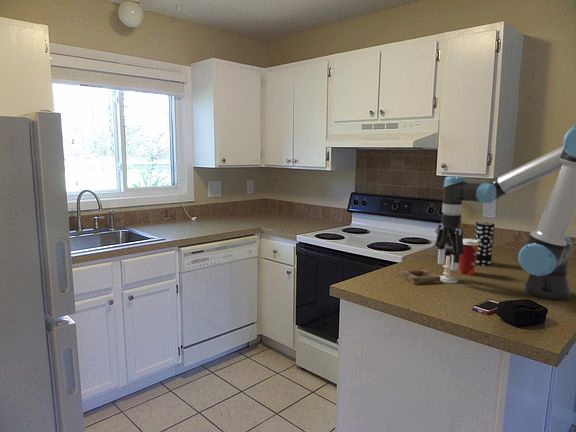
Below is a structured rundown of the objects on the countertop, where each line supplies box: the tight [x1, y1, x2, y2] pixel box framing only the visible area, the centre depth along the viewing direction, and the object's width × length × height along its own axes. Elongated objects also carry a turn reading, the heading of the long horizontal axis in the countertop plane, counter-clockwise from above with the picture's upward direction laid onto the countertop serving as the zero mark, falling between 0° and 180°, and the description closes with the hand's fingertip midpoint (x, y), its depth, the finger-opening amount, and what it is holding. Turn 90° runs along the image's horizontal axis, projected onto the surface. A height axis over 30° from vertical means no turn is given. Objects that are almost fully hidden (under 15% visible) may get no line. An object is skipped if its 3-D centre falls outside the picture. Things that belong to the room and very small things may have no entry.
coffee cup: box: [458, 238, 479, 275], centre depth 186 cm, size 8×8×15 cm
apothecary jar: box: [433, 222, 453, 262], centre depth 211 cm, size 12×12×18 cm
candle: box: [440, 255, 454, 280], centre depth 175 cm, size 5×5×10 cm
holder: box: [399, 268, 441, 285], centre depth 176 cm, size 12×12×2 cm
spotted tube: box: [473, 221, 496, 267], centre depth 202 cm, size 8×8×20 cm
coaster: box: [438, 275, 459, 284], centre depth 176 cm, size 9×9×1 cm
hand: (447, 266), depth 175 cm, fingers open, 9 cm apart
